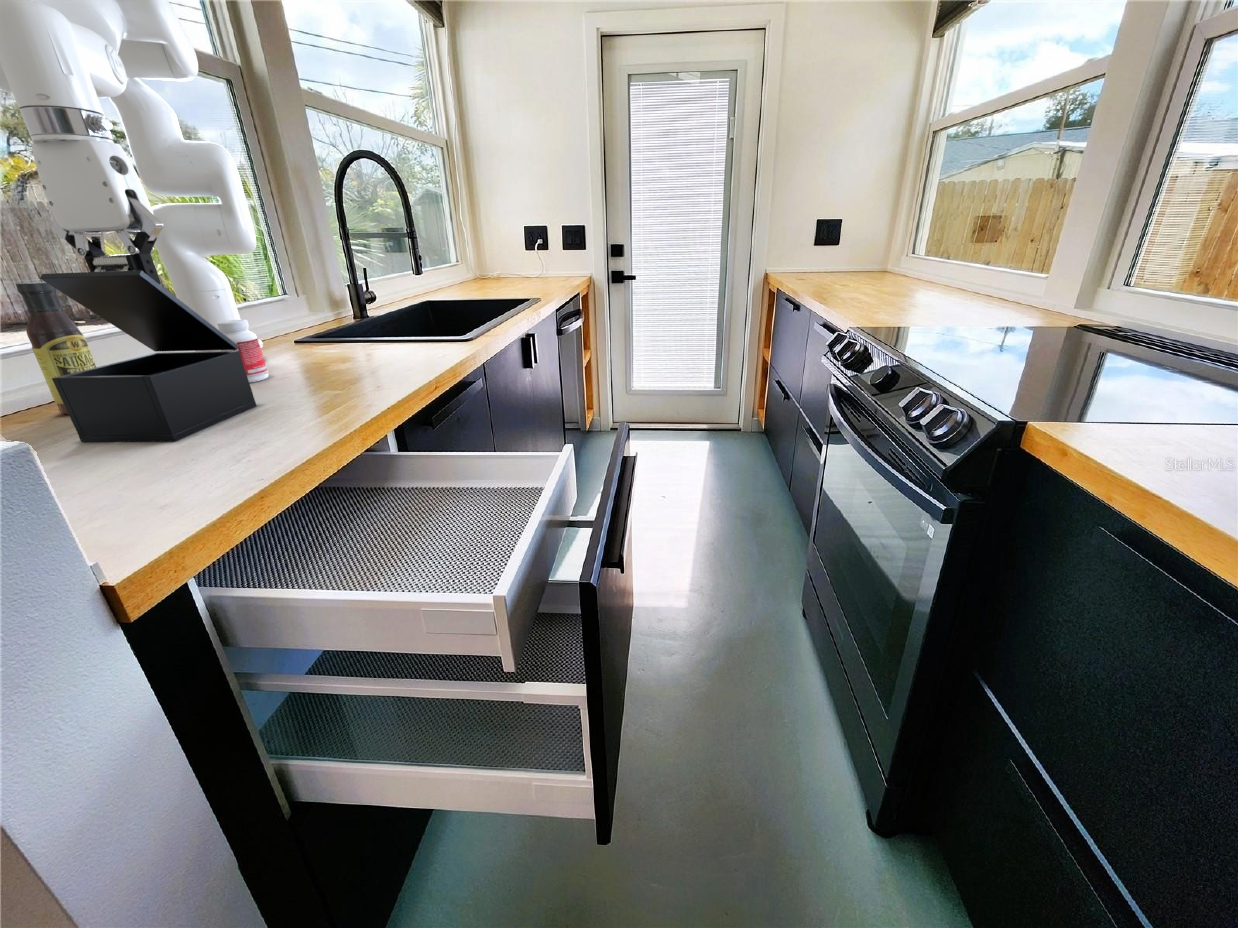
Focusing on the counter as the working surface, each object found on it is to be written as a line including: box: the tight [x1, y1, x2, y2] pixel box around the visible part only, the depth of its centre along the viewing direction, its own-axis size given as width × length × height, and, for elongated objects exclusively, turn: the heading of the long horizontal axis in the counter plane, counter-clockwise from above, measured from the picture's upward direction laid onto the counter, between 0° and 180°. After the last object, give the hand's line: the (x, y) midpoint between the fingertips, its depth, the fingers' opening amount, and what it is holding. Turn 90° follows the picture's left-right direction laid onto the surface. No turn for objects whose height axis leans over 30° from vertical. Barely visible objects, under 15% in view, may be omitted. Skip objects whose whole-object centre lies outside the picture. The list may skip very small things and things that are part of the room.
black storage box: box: [52, 351, 257, 443], centre depth 78 cm, size 16×14×9 cm
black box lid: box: [39, 253, 238, 353], centre depth 76 cm, size 17×14×5 cm
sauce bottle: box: [15, 281, 97, 415], centre depth 84 cm, size 6×6×20 cm
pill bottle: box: [217, 318, 270, 384], centre depth 101 cm, size 6×6×11 cm
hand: (129, 285), depth 72 cm, fingers closed on black box lid, 5 cm apart
